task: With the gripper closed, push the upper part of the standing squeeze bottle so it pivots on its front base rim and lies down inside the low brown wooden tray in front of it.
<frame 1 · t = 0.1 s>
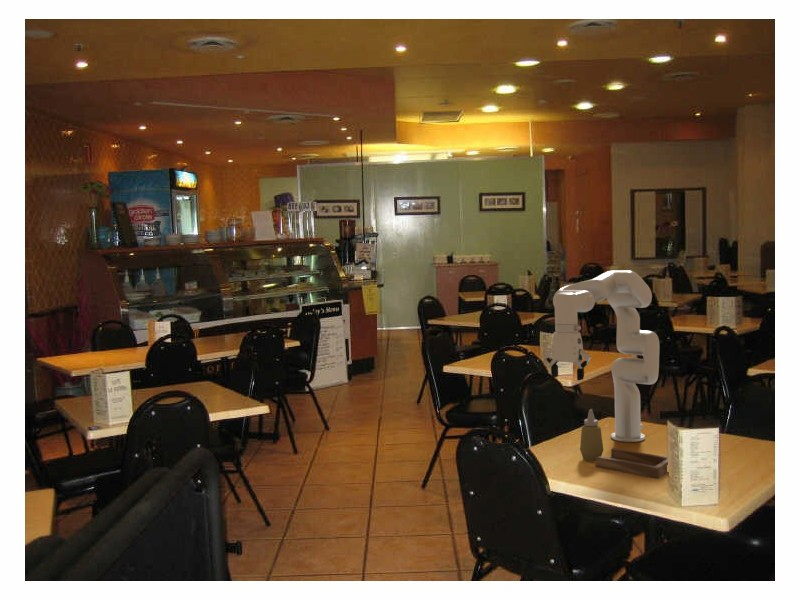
hand: (567, 378, 257), 31 cm above the table, fingers open, 9 cm apart
brown wooden tray: (634, 467, 256), on the table
squeeze bottle: (591, 460, 267), on the table
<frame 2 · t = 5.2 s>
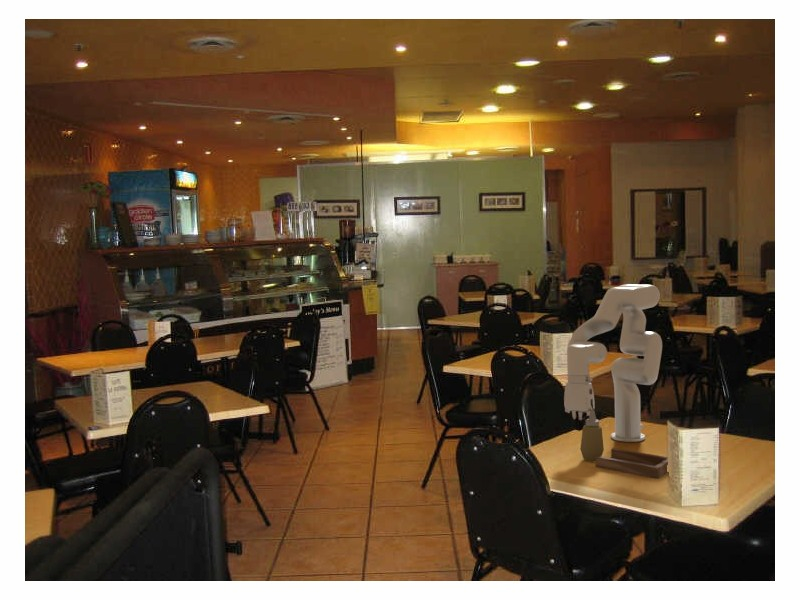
hand: (579, 429, 269), 10 cm above the table, fingers closed
squeeze bottle: (591, 460, 267), on the table, touching gripper
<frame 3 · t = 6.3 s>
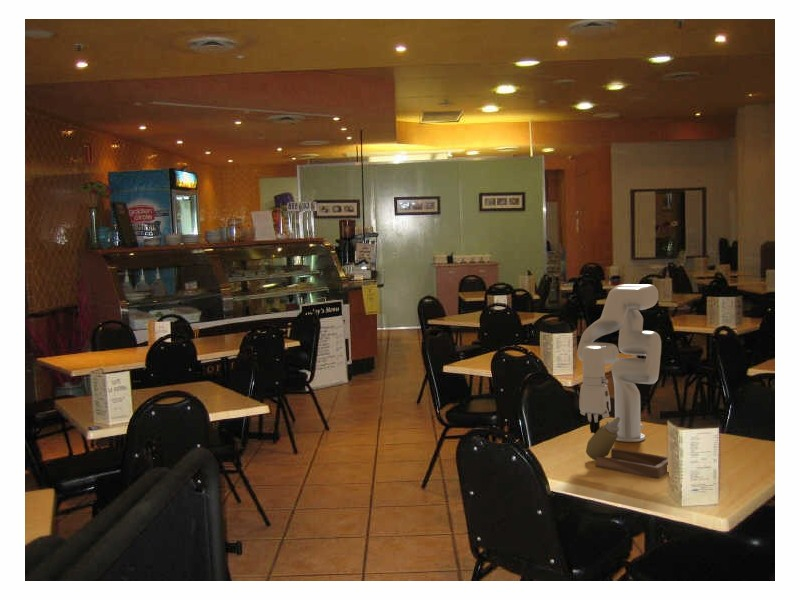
hand: (594, 432, 265), 10 cm above the table, fingers closed
squeeze bottle: (592, 455, 267), point 2 cm above the table
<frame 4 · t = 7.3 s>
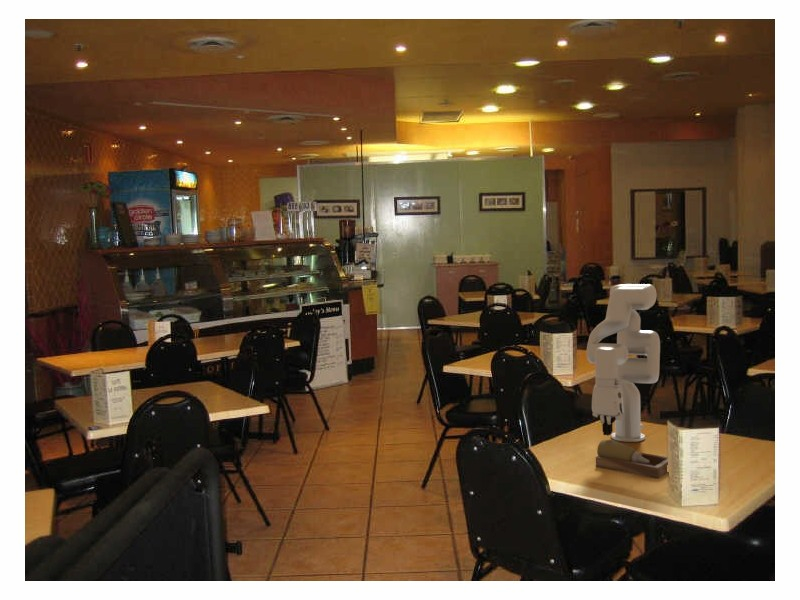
hand: (607, 434, 262), 10 cm above the table, fingers closed
squeeze bottle: (600, 448, 264), point 5 cm above the table, touching brown wooden tray
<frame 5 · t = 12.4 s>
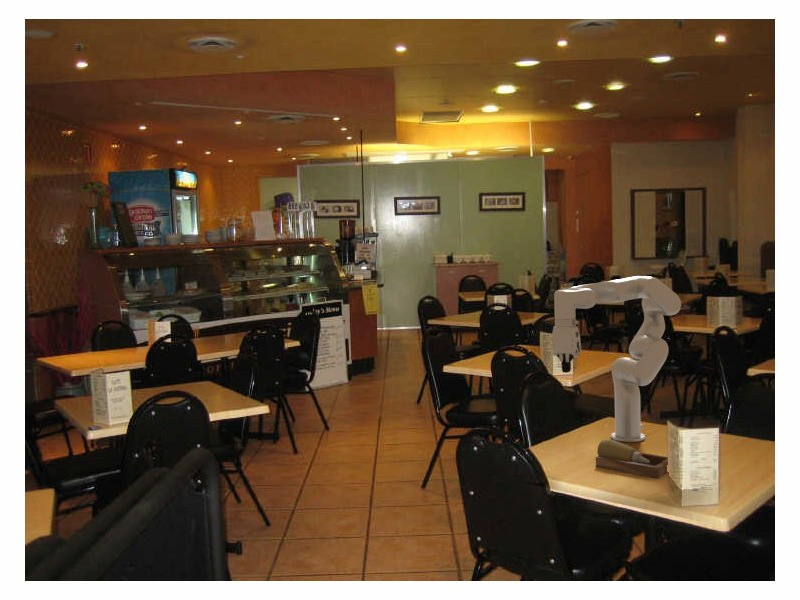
hand: (566, 371, 280), 29 cm above the table, fingers closed
nothing on the table moved.
at the end: squeeze bottle tilted 95°; squeeze bottle inside the target area on the brown wooden tray (1.9 cm from its centre), point 4.8 cm above the brown wooden tray's base; squeeze bottle touching brown wooden tray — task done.
